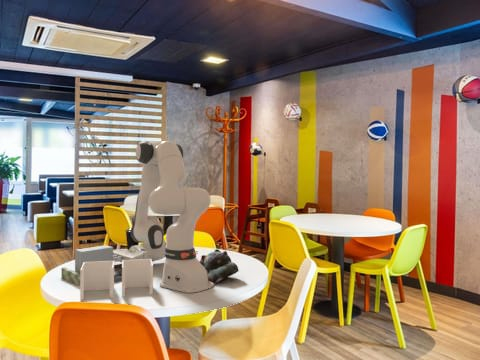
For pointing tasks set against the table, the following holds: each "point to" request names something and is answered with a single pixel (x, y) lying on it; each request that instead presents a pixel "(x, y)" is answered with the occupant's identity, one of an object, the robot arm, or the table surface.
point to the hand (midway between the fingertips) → (109, 259)
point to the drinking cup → (130, 238)
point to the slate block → (92, 255)
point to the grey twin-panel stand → (103, 275)
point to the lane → (77, 274)
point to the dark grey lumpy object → (218, 265)
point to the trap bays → (118, 277)
